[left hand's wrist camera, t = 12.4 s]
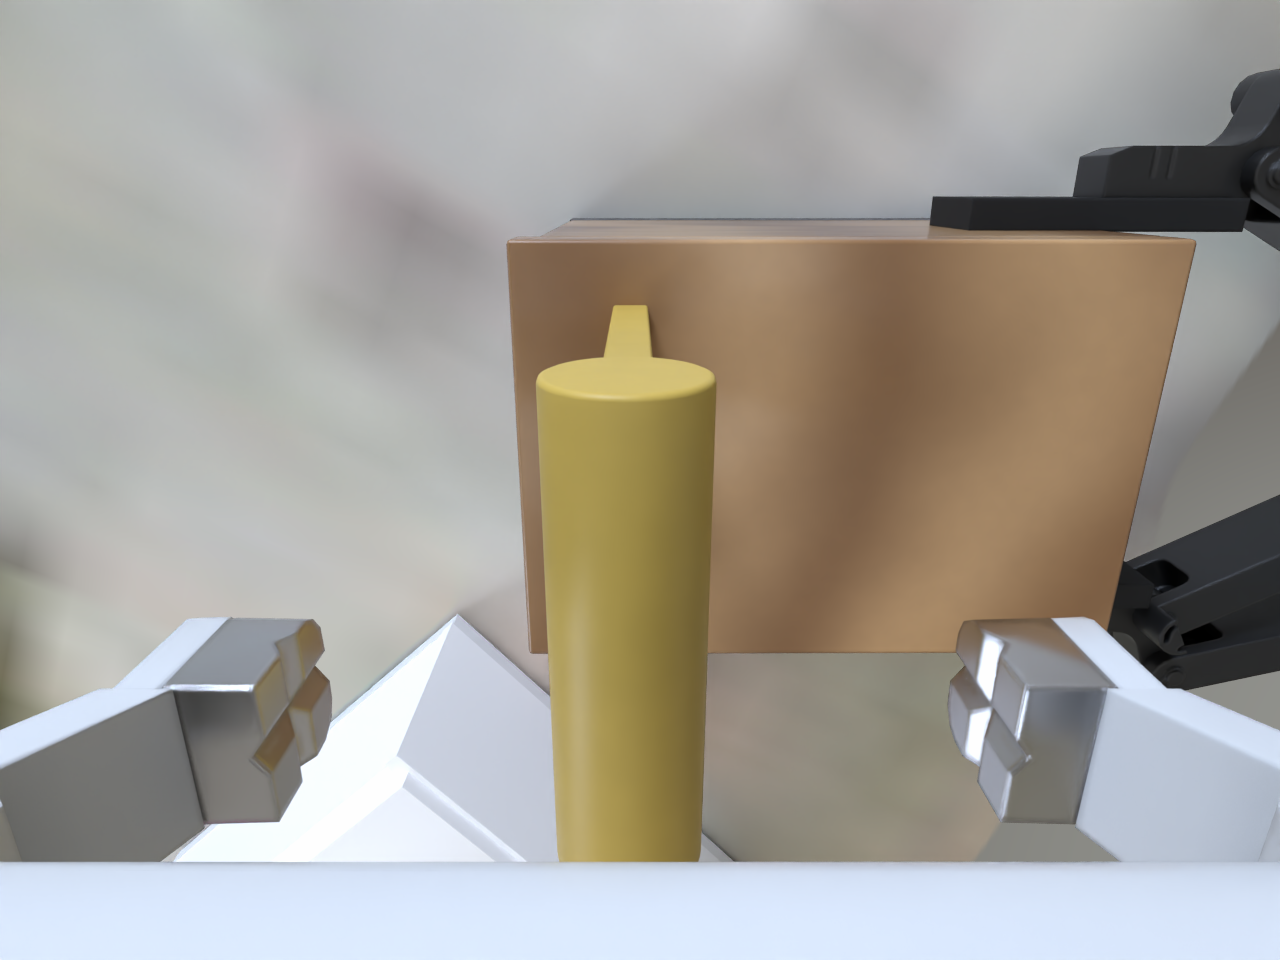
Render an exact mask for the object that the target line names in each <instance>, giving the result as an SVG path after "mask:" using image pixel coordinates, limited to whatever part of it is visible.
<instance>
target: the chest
mask: <svg viewBox="0 0 1280 960" xmlns="http://www.w3.org/2000/svg"><path fill="white" fill-rule="evenodd" d="M540 237H1160V236H1154V235H1143V234H1133V233H1122V232H1111V231H969V230H961V229H953V228H945V227H937V226H930V219H571V220H570V222H568V223H566V224H564V225H562V226H560V227H558V228H556V229H554V230H552V231H550V232H548V233H546V234H544V235H542V236H540Z"/></svg>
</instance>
